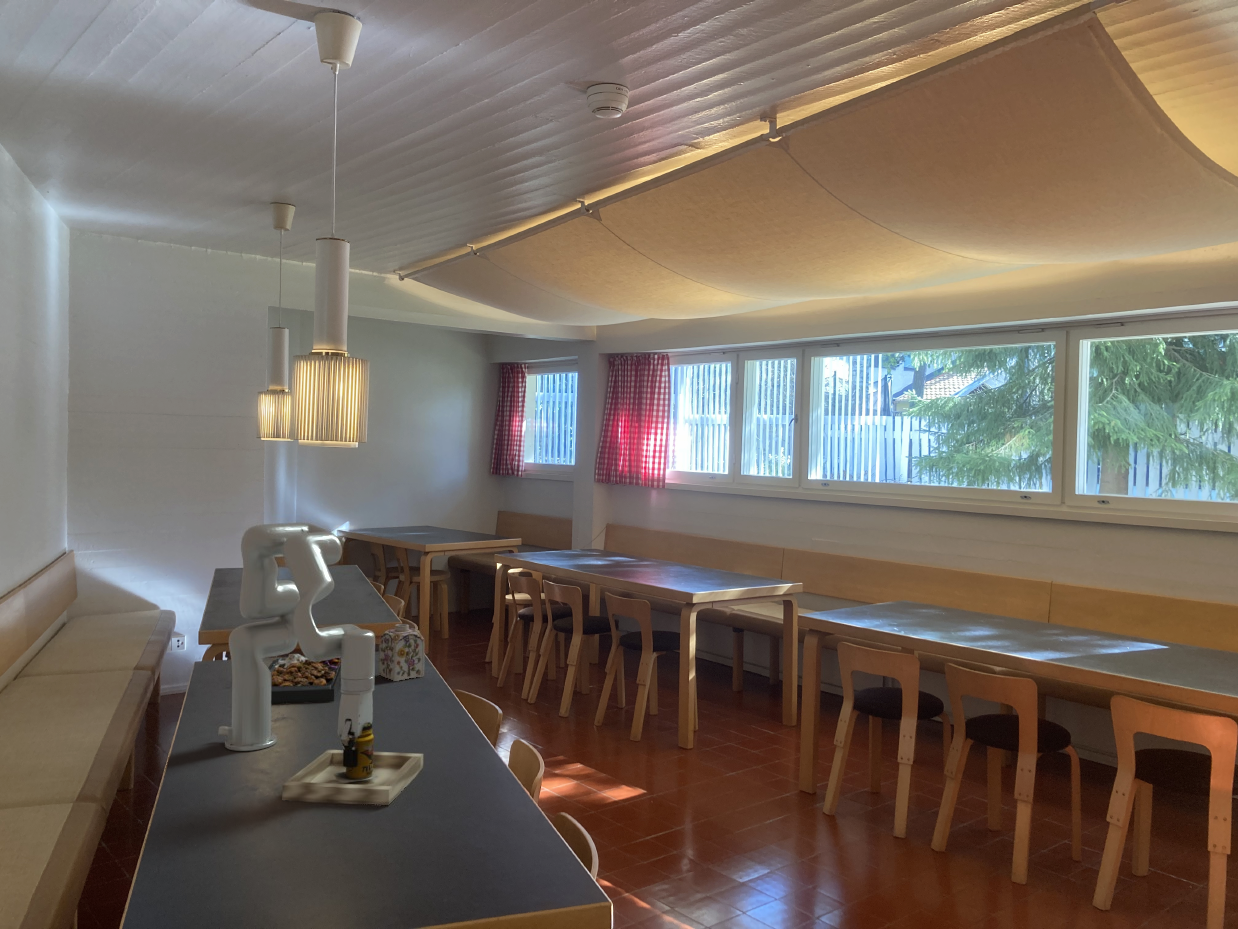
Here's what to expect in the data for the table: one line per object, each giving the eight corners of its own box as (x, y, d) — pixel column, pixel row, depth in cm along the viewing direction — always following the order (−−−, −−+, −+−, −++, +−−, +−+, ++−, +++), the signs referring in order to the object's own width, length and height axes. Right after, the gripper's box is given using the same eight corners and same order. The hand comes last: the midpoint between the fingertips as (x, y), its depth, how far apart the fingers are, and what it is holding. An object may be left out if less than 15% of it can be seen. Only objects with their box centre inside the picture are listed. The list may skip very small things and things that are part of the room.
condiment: (378, 778, 204) (379, 725, 204) (341, 784, 199) (342, 730, 200) (368, 769, 210) (369, 718, 210) (332, 774, 206) (333, 722, 206)
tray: (282, 800, 194) (282, 784, 194) (327, 763, 218) (328, 749, 218) (388, 805, 192) (388, 789, 192) (423, 768, 216) (423, 754, 216)
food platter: (272, 672, 313) (273, 643, 313) (345, 670, 319) (345, 641, 319) (249, 707, 269) (249, 673, 269) (334, 703, 275) (334, 670, 275)
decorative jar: (377, 676, 308) (378, 624, 308) (407, 671, 316) (408, 620, 316) (394, 682, 300) (395, 629, 300) (425, 677, 308) (425, 625, 308)
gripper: (356, 674, 214) (354, 748, 214) (326, 693, 197) (324, 773, 197) (386, 675, 214) (385, 750, 214) (359, 694, 196) (357, 775, 196)
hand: (356, 760), depth 205 cm, fingers open, 6 cm apart
